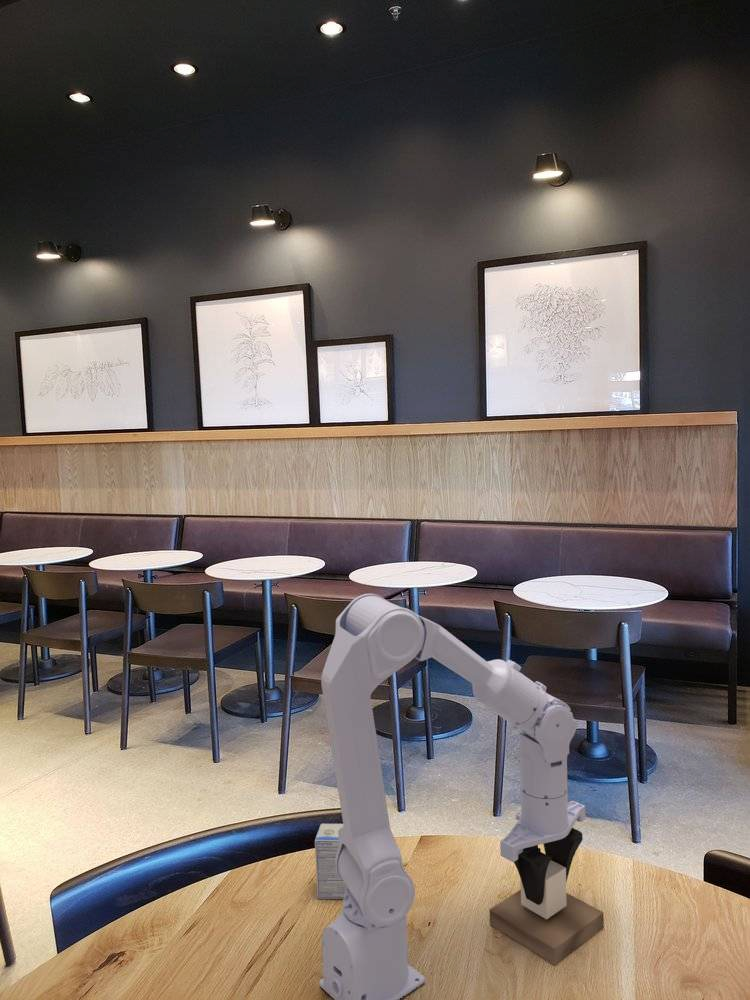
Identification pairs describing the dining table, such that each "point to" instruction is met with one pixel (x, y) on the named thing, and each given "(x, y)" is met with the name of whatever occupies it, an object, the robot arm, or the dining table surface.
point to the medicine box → (328, 863)
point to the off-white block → (549, 892)
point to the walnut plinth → (547, 926)
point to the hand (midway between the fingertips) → (545, 892)
